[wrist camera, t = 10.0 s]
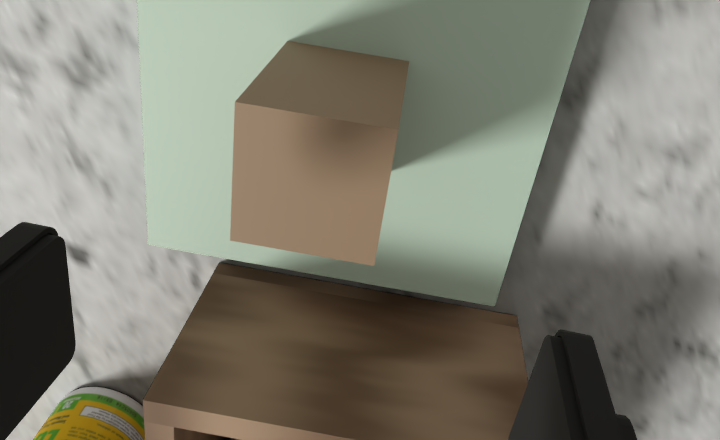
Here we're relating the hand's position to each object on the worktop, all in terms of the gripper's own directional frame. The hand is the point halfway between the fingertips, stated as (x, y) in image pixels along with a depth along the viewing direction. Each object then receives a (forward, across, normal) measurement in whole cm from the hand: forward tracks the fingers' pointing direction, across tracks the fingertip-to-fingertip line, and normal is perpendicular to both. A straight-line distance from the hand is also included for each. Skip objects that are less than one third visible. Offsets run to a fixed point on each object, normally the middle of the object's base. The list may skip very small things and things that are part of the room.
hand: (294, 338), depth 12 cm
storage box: (+13, -1, +14) cm, 19 cm away
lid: (+12, +1, -1) cm, 12 cm away
